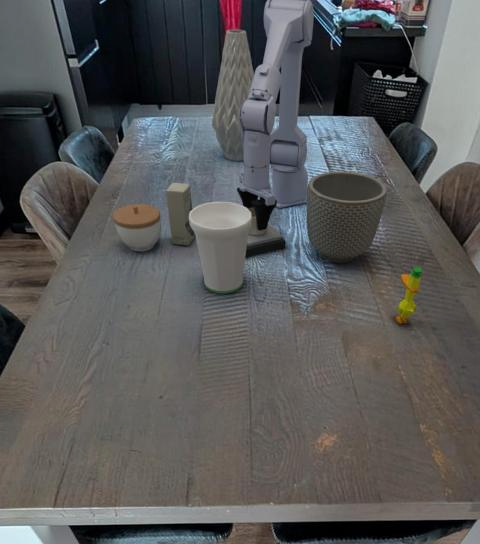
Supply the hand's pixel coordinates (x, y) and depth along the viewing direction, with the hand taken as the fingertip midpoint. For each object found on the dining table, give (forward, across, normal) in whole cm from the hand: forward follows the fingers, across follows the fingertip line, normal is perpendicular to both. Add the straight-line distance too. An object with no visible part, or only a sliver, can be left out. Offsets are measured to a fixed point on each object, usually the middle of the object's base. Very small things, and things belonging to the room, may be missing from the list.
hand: (256, 223), depth 114 cm
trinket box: (+5, -10, -26) cm, 28 cm away
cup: (+5, +14, -15) cm, 21 cm away
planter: (+5, +14, +15) cm, 21 cm away
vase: (+5, -55, +21) cm, 59 cm away
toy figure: (+5, +42, +12) cm, 44 cm away
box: (+5, -8, -16) cm, 19 cm away
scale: (+5, 0, -1) cm, 5 cm away
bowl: (+2, 0, 0) cm, 2 cm away
